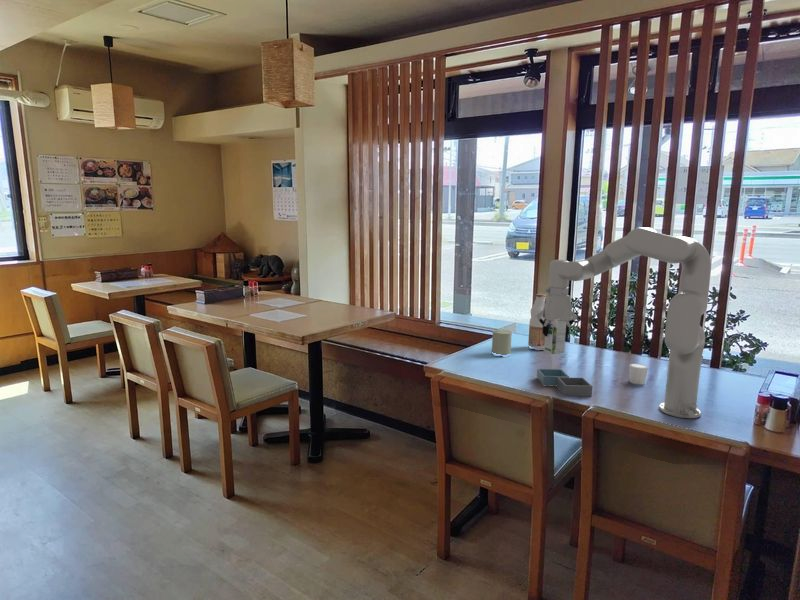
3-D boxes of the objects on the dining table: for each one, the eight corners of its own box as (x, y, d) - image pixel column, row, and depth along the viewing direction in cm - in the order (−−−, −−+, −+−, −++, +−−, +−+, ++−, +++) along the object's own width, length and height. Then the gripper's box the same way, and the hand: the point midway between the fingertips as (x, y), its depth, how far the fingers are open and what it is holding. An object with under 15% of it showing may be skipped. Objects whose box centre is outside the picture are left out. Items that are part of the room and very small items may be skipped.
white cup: (636, 385, 201) (637, 368, 200) (624, 380, 208) (625, 363, 207) (650, 384, 203) (652, 367, 202) (638, 379, 209) (639, 362, 208)
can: (489, 352, 248) (490, 328, 246) (507, 352, 249) (508, 328, 247) (494, 357, 239) (495, 332, 237) (513, 357, 240) (514, 332, 238)
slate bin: (568, 386, 199) (569, 376, 198) (543, 386, 199) (543, 376, 198) (560, 378, 208) (561, 369, 208) (536, 378, 209) (537, 368, 208)
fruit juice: (527, 350, 254) (531, 295, 249) (528, 345, 263) (531, 292, 258) (547, 351, 251) (550, 296, 247) (547, 347, 260) (550, 293, 256)
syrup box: (543, 351, 203) (545, 315, 201) (555, 349, 205) (557, 314, 203) (553, 354, 198) (555, 318, 196) (564, 353, 200) (567, 317, 198)
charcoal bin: (591, 396, 188) (592, 386, 187) (564, 396, 188) (565, 385, 187) (582, 387, 198) (583, 377, 197) (556, 387, 198) (557, 377, 197)
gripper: (538, 292, 194) (535, 337, 197) (583, 293, 194) (580, 338, 197) (533, 289, 202) (531, 333, 204) (577, 290, 201) (574, 334, 204)
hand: (555, 335), depth 201 cm, fingers closed on syrup box, 7 cm apart
